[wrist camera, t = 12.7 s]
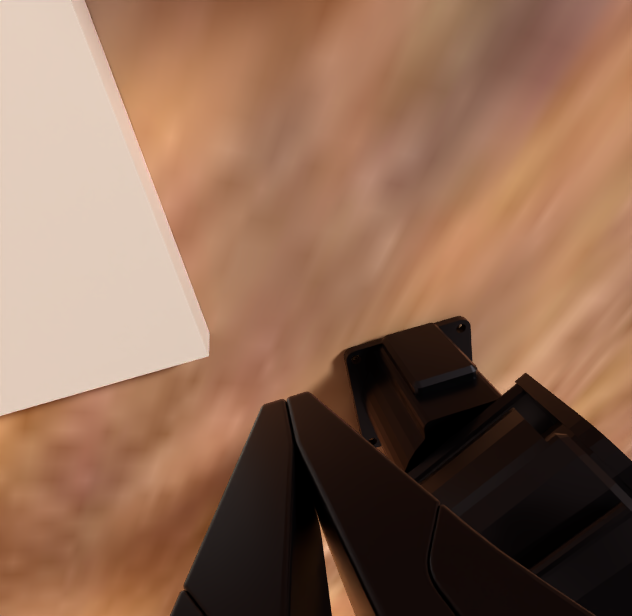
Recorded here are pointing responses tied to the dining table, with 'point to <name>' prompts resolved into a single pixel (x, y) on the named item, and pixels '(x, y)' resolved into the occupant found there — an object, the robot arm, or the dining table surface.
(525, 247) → the dining table surface
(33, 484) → the dining table surface
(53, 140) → the deck
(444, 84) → the dining table surface
